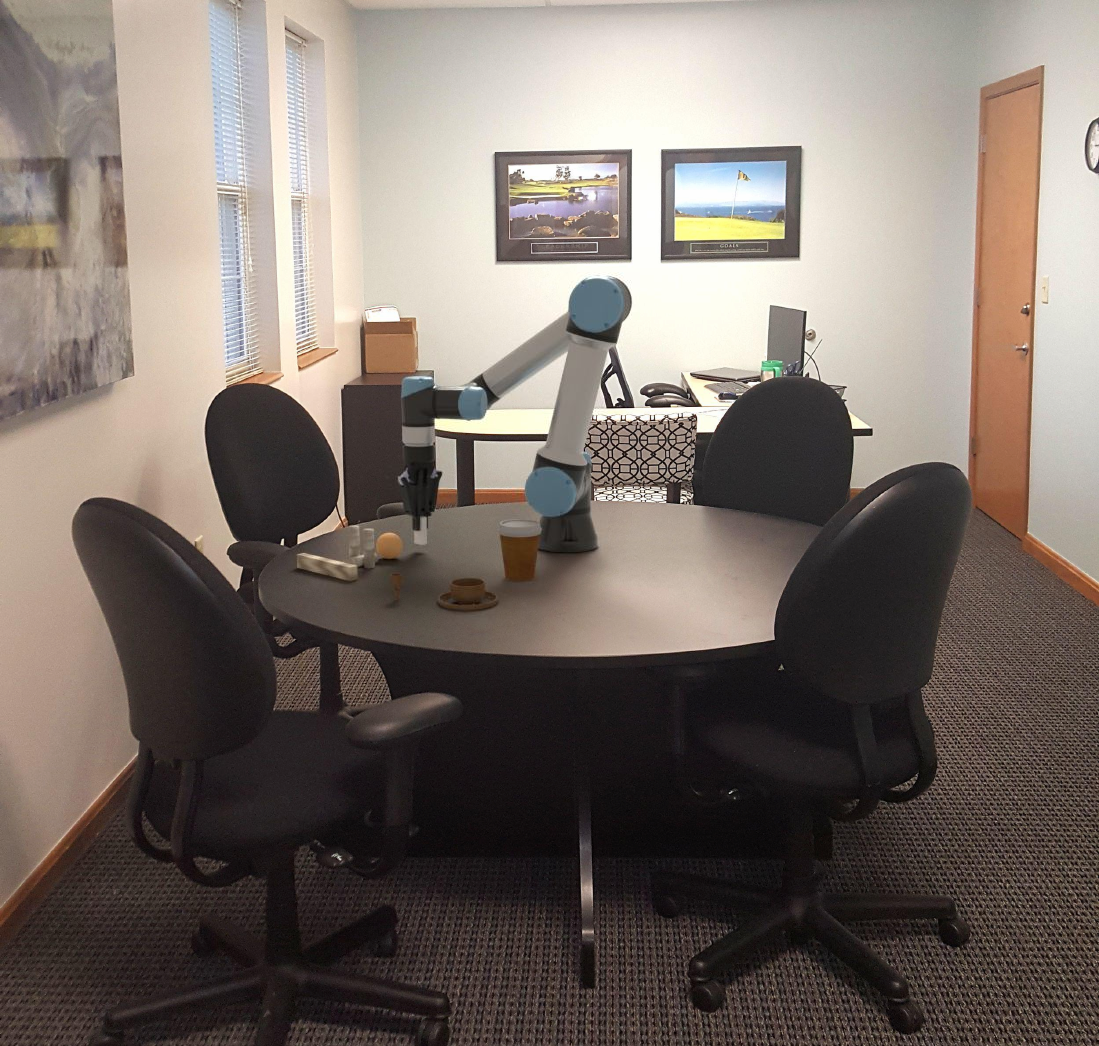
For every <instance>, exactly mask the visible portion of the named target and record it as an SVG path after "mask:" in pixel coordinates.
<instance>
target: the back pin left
mask: <svg viewBox="0 0 1099 1046" xmlns="http://www.w3.org/2000/svg"><path fill="white" fill-rule="evenodd" d="M362 533H363V534H362V536H363V538H362V539H363V546H362V547H363V555H364V566H363V568H365V569H374V568H375V567H376V563H375V553H376V552H375V549H376V548H375V529H374V528H363V529H362Z"/></svg>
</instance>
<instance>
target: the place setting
mask: <svg viewBox="0 0 1099 1046" xmlns="http://www.w3.org/2000/svg"><path fill="white" fill-rule="evenodd" d="M389 580H390V581H389V582H390V586H391V588H392V589H394V595H393V597H394V601H396V602H397V600H398V601H400V599H399V597H400V592H399V591H400V588H401V587H402V586H403V573H401V572H393V573H390V575H389ZM449 585H450V586H449V587H450V588H449V589H450V591H447V592H443V593H441V594H439V595H438V596H437V603H438V604H439V605H440V606H441V607H442V608H445V609H448V608H449V610H452V609H454V611H466V610H467V611H477V610H478V609H481V610H485V609H484V608H486V609H489V607H490V608H492V607H494V606H495V605H496V604H497V603H498V599H499V595H498V596H497V593H494V592H492V591H488V590H486V581H485V580H484V579H480V578H476V577H462V578H457V579H453V580H451V581H450V582H449ZM449 597H452V600H454V601H456V602H457V603H459V604H454V603H448V602H445V600H447V598H448V599H450V598H449ZM486 597H490V598H491V599H490V598H489V599H490V600H492V599H493V600H492V601H489V602H484V603H479V602H480V601H482V599H484V598H486ZM444 599H445V600H444ZM443 600H444V601H443ZM476 603H477V604H476ZM478 603H479V604H478ZM460 604H461V605H460ZM473 604H475V605H473ZM418 607H419V608H420V605H417V606H415V608H416V609H418ZM478 611H479V610H478Z"/></svg>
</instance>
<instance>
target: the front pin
mask: <svg viewBox="0 0 1099 1046" xmlns="http://www.w3.org/2000/svg"><path fill="white" fill-rule="evenodd" d="M341 562H344V563H348V564H352V565H356V566H357V568H360V567H364V554H360V556H356V557H351V558H349V557H348V558H343V559H342V560H341ZM378 562H379V554H378V553H377V552H375V564H376V563H378Z"/></svg>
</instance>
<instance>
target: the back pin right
mask: <svg viewBox="0 0 1099 1046" xmlns="http://www.w3.org/2000/svg"><path fill="white" fill-rule="evenodd" d="M347 530H348V532H347V533H348V534H347V535H348V558H351V557H356V556H360V555H361V552H360V550H361V547H360V546H361V544H360V543H361V542H360V541H361V540H360V526H359V525H356V524H355V525H349V526H348V527H347Z"/></svg>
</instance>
